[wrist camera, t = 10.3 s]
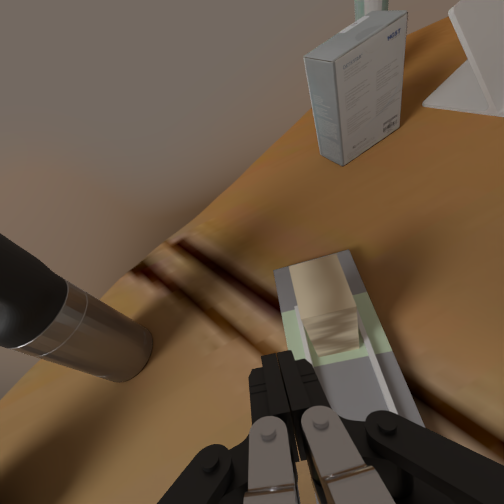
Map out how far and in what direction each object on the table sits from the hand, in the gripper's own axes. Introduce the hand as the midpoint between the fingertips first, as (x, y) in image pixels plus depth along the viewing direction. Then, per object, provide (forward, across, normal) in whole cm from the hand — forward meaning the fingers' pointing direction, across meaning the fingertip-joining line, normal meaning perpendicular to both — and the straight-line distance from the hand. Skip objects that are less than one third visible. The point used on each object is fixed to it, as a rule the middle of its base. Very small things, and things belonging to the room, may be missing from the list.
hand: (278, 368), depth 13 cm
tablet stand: (+48, -58, -20) cm, 78 cm away
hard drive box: (+50, -28, -13) cm, 58 cm away
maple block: (+20, -8, +11) cm, 24 cm away
